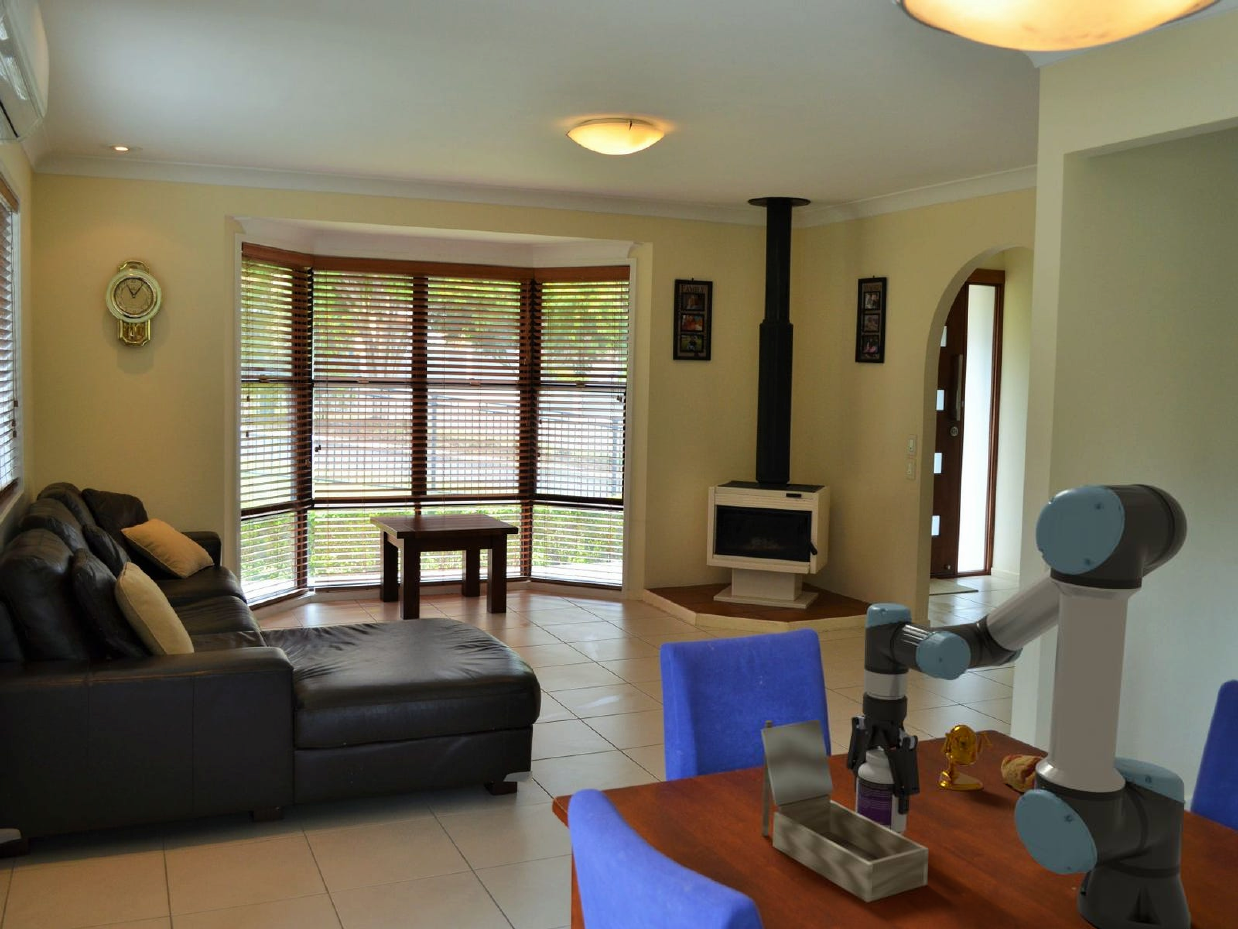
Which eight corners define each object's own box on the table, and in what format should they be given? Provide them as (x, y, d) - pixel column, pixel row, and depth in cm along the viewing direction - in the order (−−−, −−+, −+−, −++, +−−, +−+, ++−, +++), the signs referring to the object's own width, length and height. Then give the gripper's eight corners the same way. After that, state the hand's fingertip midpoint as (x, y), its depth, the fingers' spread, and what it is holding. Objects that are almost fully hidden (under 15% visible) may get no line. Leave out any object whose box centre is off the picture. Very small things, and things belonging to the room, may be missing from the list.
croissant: (992, 785, 223) (976, 752, 222) (1034, 762, 224) (1018, 729, 223) (1044, 824, 202) (1026, 787, 201) (1090, 798, 203) (1072, 761, 202)
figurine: (950, 794, 207) (953, 733, 207) (926, 774, 218) (929, 716, 217) (992, 793, 209) (995, 732, 208) (966, 773, 219) (969, 715, 218)
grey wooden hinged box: (926, 884, 169) (932, 759, 167) (867, 902, 162) (872, 772, 161) (811, 822, 192) (815, 712, 191) (754, 835, 186) (758, 722, 184)
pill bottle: (904, 846, 183) (908, 763, 182) (856, 841, 184) (859, 759, 183) (901, 828, 191) (905, 748, 190) (855, 823, 192) (858, 744, 191)
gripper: (947, 706, 179) (941, 840, 180) (859, 676, 197) (854, 798, 198) (914, 712, 175) (908, 848, 177) (828, 681, 193) (823, 805, 194)
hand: (879, 821), depth 187 cm, fingers closed on pill bottle, 8 cm apart
